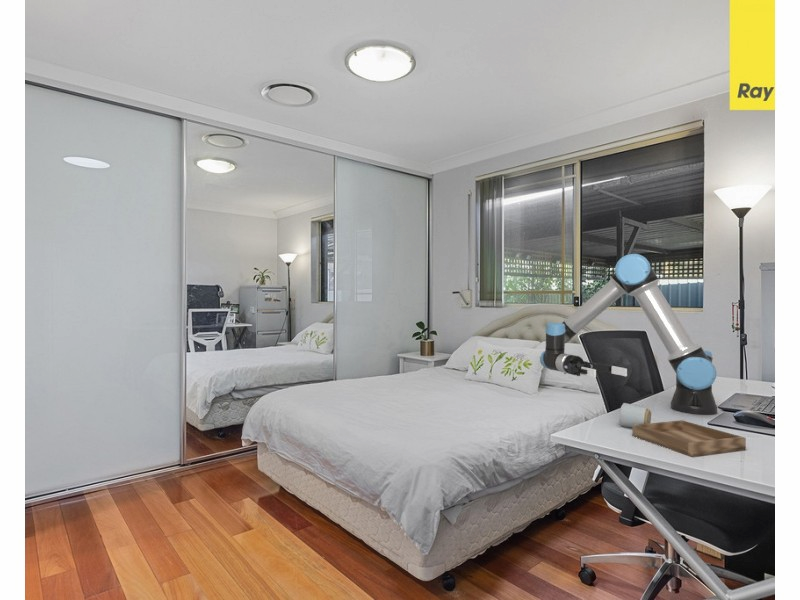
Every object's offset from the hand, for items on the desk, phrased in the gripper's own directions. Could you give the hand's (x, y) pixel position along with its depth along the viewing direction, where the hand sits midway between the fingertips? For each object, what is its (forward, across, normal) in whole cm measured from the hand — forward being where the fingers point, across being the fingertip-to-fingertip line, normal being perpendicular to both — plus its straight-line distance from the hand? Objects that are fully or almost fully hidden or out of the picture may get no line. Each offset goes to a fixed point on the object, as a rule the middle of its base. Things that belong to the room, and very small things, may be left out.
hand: (610, 373), depth 163 cm
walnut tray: (+28, -2, -16) cm, 33 cm away
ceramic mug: (+10, -1, -17) cm, 19 cm away
